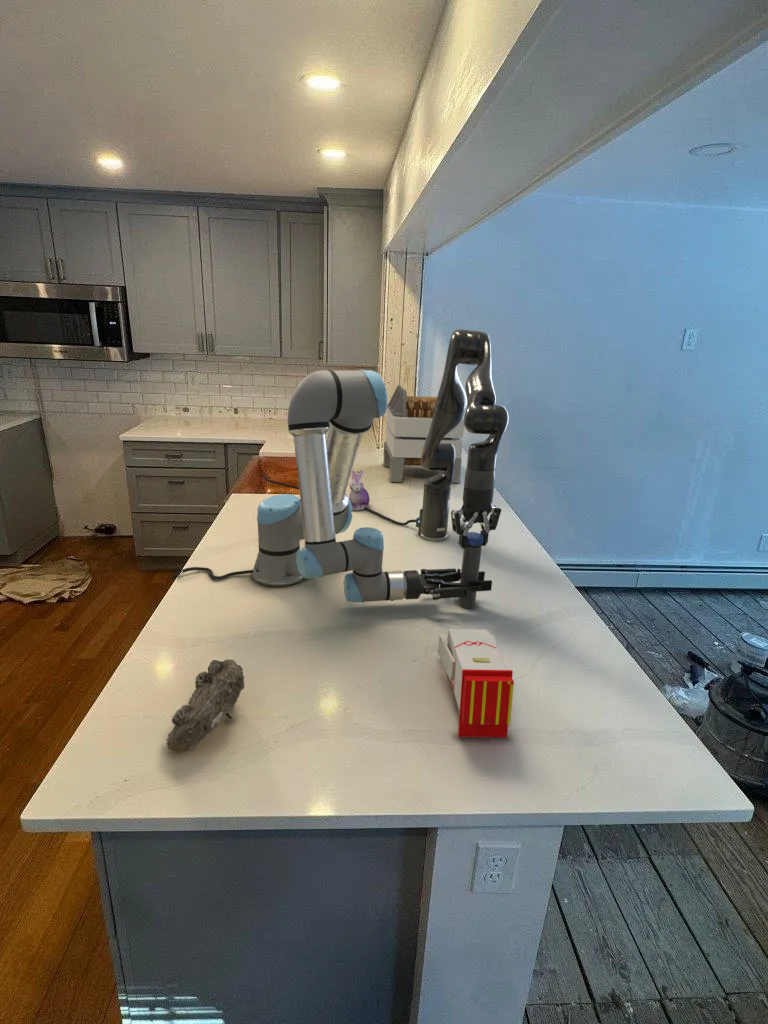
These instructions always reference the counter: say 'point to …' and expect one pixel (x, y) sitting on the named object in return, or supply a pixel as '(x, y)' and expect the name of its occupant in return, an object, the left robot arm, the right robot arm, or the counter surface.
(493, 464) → the right robot arm
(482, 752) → the counter surface
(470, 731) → the toy
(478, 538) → the lid
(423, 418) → the grey storage crate
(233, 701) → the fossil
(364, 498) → the figurine
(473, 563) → the grey cylinder
